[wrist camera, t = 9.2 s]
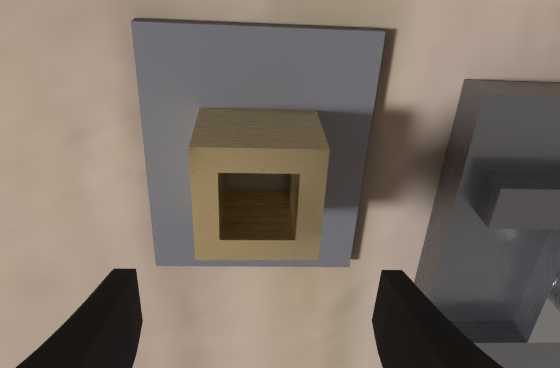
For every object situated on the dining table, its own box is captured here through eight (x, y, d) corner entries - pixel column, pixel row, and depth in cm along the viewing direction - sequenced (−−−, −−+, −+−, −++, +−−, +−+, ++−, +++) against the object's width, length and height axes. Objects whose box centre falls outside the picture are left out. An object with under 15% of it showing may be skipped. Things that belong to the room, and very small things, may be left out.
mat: (347, 259, 25) (349, 266, 25) (158, 258, 24) (156, 265, 24) (382, 28, 19) (385, 31, 19) (134, 18, 19) (131, 21, 18)
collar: (308, 208, 23) (318, 260, 19) (203, 207, 22) (195, 260, 19) (316, 110, 20) (329, 149, 17) (199, 107, 20) (188, 147, 16)
